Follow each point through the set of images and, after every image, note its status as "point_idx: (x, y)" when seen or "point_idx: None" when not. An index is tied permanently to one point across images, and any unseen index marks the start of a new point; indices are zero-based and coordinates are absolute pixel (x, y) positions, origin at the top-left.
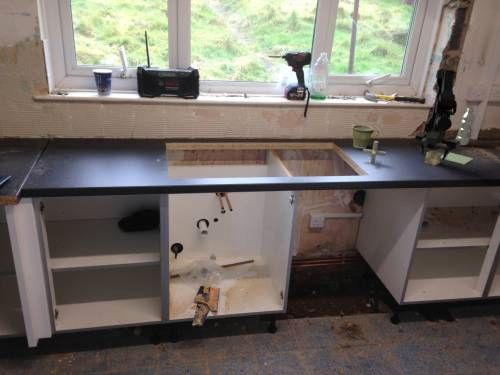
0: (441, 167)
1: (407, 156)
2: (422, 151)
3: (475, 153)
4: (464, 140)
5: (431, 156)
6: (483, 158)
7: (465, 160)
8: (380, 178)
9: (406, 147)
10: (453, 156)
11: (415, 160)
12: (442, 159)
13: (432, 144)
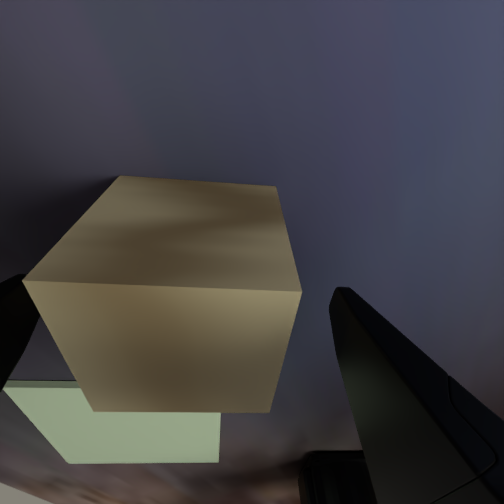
0: (18, 166)
1: (500, 242)
2: (388, 327)
3: (127, 494)
4: None
5: (177, 246)
6: (57, 480)
7: (61, 430)
8: None
9: None
10: (157, 437)
11: (400, 173)
12: (18, 285)
13: (322, 486)
